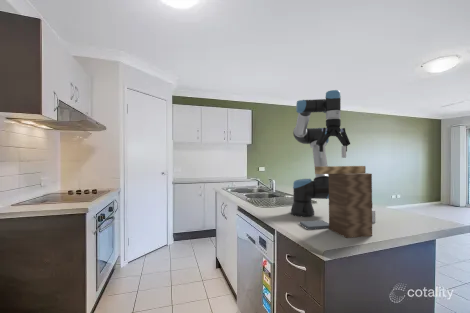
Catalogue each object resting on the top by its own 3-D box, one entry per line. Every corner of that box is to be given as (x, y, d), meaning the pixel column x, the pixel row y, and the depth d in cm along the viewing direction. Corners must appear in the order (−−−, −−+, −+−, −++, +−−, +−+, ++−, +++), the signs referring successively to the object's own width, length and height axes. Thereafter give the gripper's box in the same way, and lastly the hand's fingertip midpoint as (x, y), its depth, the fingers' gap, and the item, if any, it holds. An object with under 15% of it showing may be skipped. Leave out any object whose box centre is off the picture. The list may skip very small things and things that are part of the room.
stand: (346, 238, 110) (345, 174, 110) (329, 229, 124) (328, 172, 124) (372, 235, 113) (371, 173, 113) (352, 227, 126) (351, 171, 126)
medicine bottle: (375, 223, 134) (375, 202, 134) (362, 222, 135) (361, 201, 135) (370, 219, 141) (370, 200, 141) (358, 219, 142) (357, 199, 142)
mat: (308, 229, 123) (308, 226, 123) (299, 224, 133) (299, 221, 133) (332, 227, 125) (332, 225, 125) (322, 222, 135) (322, 220, 135)
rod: (318, 174, 113) (318, 166, 113) (314, 173, 116) (314, 166, 116) (365, 172, 118) (365, 166, 118) (360, 172, 121) (360, 165, 121)
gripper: (317, 117, 122) (317, 158, 122) (357, 118, 128) (357, 157, 128) (309, 119, 129) (309, 157, 129) (347, 120, 135) (347, 157, 135)
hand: (333, 157), depth 128 cm, fingers open, 13 cm apart
